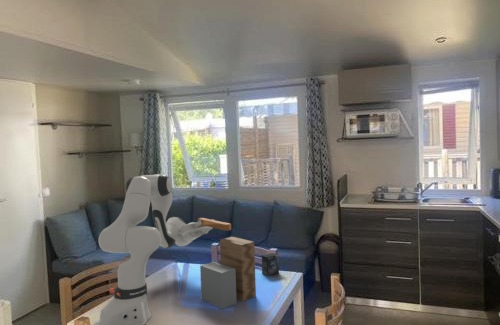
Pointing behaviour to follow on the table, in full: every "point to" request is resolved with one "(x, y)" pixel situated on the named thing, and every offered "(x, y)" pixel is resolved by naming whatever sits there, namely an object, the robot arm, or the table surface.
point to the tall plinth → (240, 264)
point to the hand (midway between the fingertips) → (205, 221)
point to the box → (270, 264)
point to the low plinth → (218, 284)
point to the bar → (215, 224)
